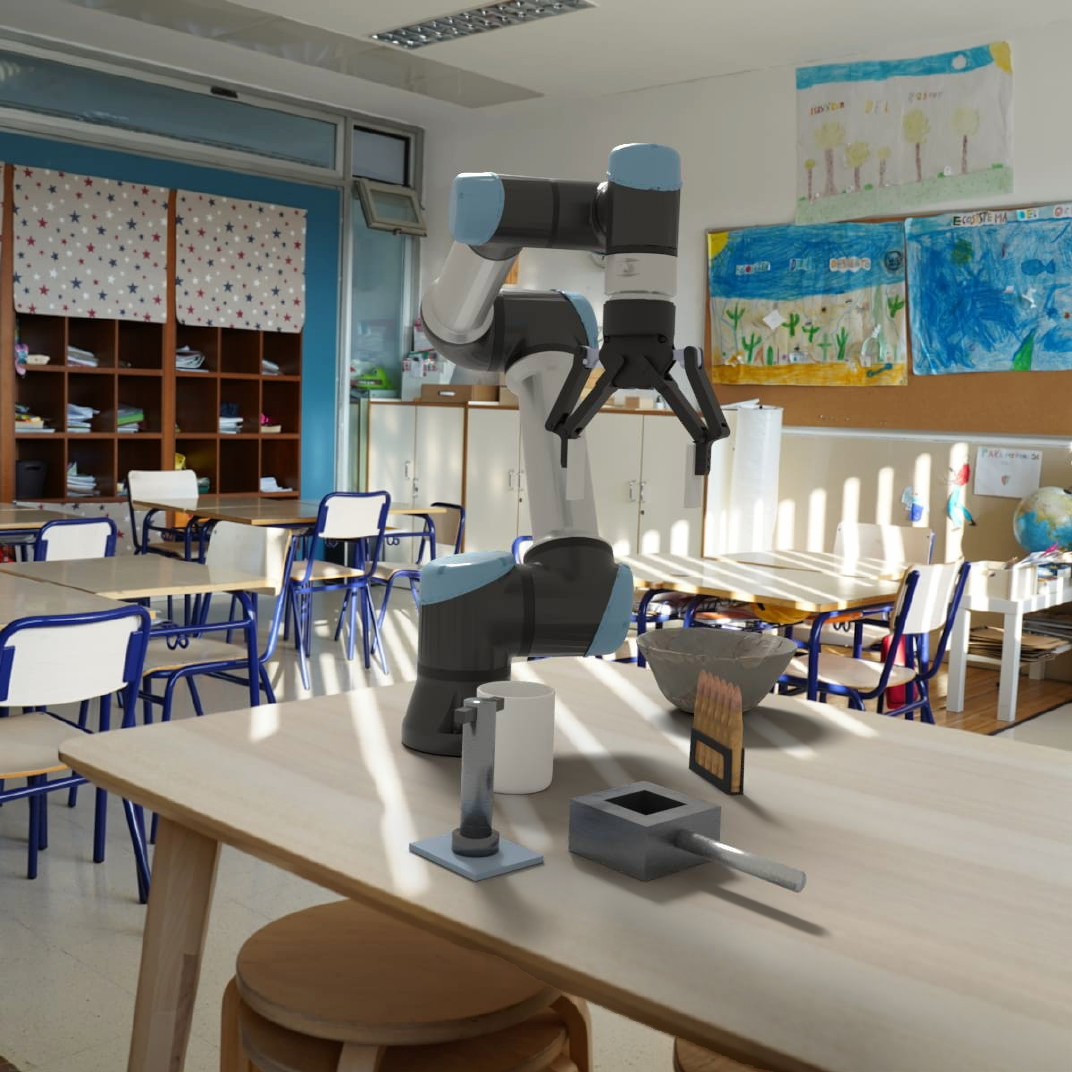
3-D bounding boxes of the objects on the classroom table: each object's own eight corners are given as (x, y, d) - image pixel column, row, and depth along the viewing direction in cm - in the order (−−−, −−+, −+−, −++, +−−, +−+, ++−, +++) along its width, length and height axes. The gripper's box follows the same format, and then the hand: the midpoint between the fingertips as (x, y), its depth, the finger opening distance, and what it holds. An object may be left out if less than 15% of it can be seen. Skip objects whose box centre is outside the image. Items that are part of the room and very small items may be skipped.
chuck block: (568, 850, 121) (569, 798, 120) (642, 829, 127) (644, 780, 127) (759, 929, 104) (762, 869, 103) (833, 900, 110) (837, 844, 110)
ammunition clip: (744, 794, 140) (749, 687, 139) (728, 795, 140) (733, 687, 139) (702, 767, 150) (707, 667, 149) (688, 768, 150) (692, 667, 149)
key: (474, 834, 123) (479, 691, 121) (514, 843, 121) (519, 697, 119) (434, 855, 117) (439, 704, 115) (475, 865, 114) (480, 711, 113)
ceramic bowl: (796, 699, 188) (799, 632, 187) (790, 737, 166) (794, 661, 165) (646, 687, 193) (649, 622, 192) (621, 723, 171) (624, 649, 170)
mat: (408, 849, 120) (409, 843, 120) (476, 832, 125) (476, 826, 125) (475, 881, 112) (475, 874, 112) (543, 861, 118) (543, 855, 117)
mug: (521, 762, 150) (524, 672, 149) (565, 791, 139) (568, 694, 138) (453, 768, 147) (455, 677, 146) (491, 799, 136) (494, 700, 135)
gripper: (517, 298, 136) (512, 497, 138) (741, 294, 124) (731, 513, 126) (551, 304, 142) (545, 494, 144) (767, 301, 130) (757, 508, 132)
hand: (632, 503), depth 135 cm, fingers open, 13 cm apart
